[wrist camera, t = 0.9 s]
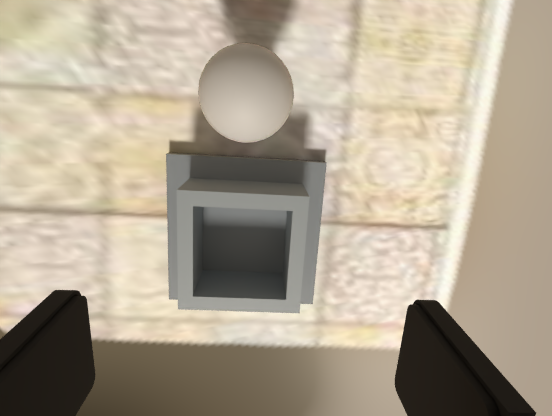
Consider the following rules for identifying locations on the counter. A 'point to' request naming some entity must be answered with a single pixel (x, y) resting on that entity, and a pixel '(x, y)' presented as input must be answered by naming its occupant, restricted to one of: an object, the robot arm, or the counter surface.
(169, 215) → the socket holder
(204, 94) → the lightbulb
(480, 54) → the counter surface
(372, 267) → the counter surface
